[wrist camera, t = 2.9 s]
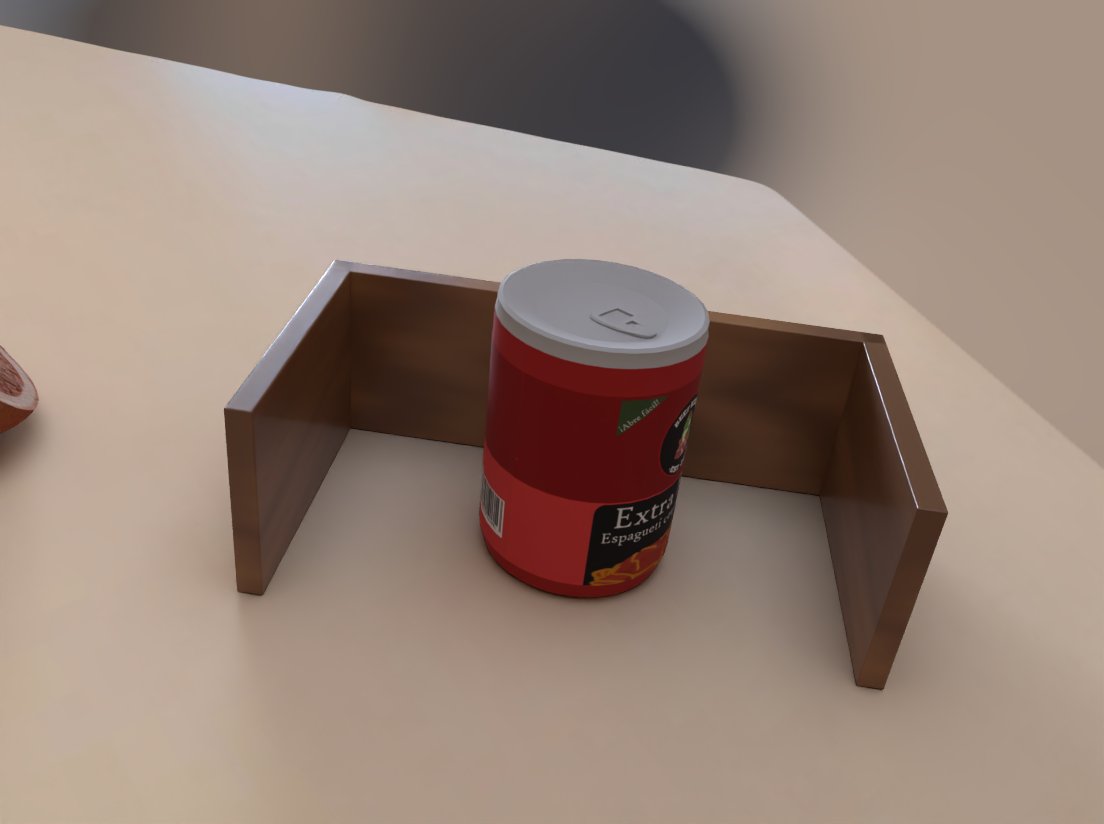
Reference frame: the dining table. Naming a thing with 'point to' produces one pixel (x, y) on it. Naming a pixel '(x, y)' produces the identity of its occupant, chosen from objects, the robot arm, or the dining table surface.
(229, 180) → the dining table surface
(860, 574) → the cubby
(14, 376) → the fruit slice
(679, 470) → the canned food
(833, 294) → the dining table surface
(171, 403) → the dining table surface
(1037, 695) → the dining table surface
